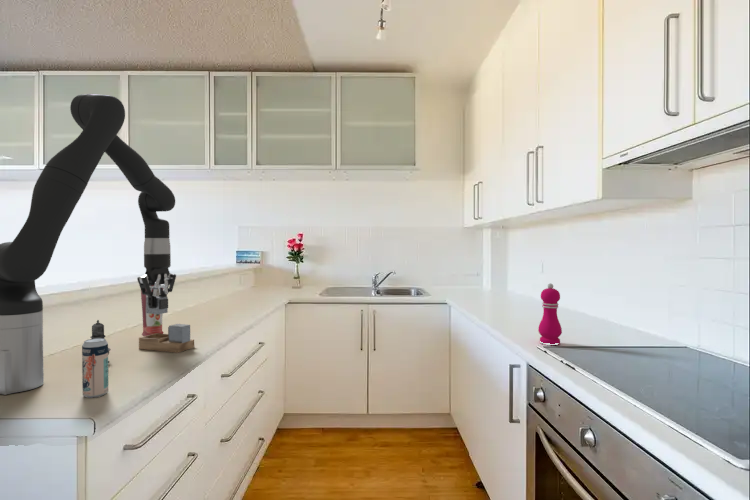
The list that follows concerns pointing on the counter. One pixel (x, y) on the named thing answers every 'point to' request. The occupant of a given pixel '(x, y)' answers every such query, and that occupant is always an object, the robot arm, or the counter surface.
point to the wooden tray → (163, 343)
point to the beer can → (95, 367)
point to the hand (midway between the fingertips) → (157, 307)
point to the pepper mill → (550, 316)
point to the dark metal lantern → (98, 332)
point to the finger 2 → (179, 333)
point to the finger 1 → (158, 306)
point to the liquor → (150, 318)
